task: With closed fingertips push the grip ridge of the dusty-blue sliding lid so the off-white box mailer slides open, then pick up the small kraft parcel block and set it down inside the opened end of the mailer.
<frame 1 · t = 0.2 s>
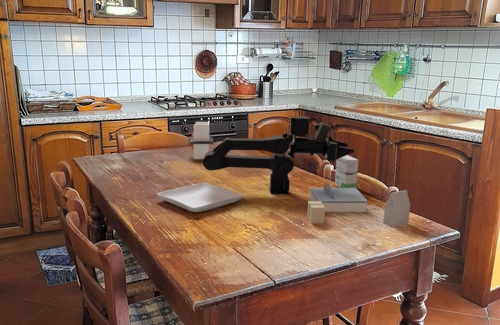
hand: (350, 147, 170), 16 cm above the table, tool horizontal, fingers open, 9 cm apart
lid: (337, 191, 159), point 5 cm above the table, slide at 0.0 cm
salad plate: (199, 203, 160), on the table
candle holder: (201, 158, 224), on the table
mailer: (337, 204, 160), on the table
parcel: (315, 219, 146), on the table
grey tapered upright block: (395, 223, 144), on the table
ink box: (345, 188, 180), on the table
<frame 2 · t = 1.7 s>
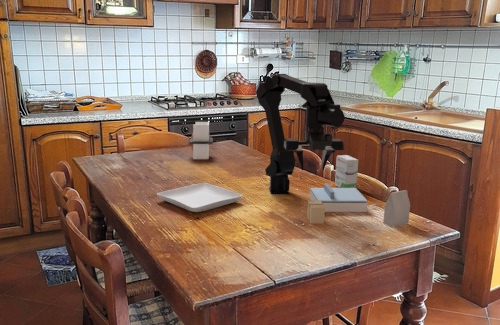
hand: (312, 170, 157), 12 cm above the table, tool pointing down, fingers open, 6 cm apart
nothing on the table moved.
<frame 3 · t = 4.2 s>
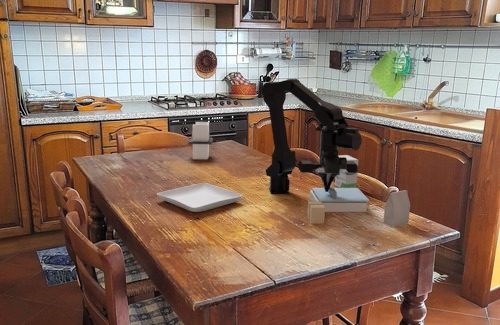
hand: (326, 191, 158), 5 cm above the table, tool pointing down, fingers closed
lid: (340, 191, 159), point 5 cm above the table, slide at 0.7 cm, touching gripper
everything else where it was.
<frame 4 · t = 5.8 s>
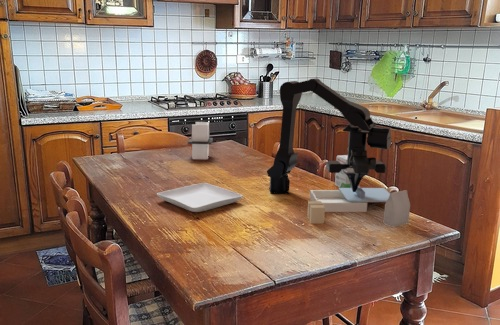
hand: (353, 191, 159), 5 cm above the table, tool pointing down, fingers closed
lid: (367, 191, 159), point 5 cm above the table, slide at 10.0 cm, touching gripper
everything else where it was.
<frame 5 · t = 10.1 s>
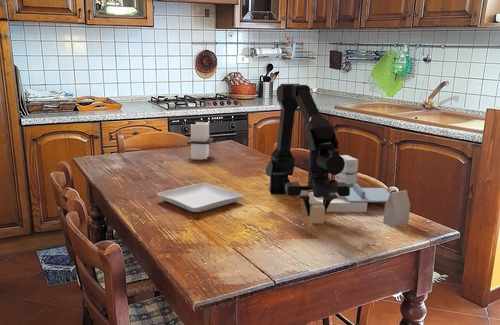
hand: (315, 215, 145), 1 cm above the table, tool pointing down, fingers closed on parcel, 4 cm apart
lid: (367, 191, 159), point 5 cm above the table, slide at 10.1 cm
parcel: (315, 219, 146), on the table, touching gripper
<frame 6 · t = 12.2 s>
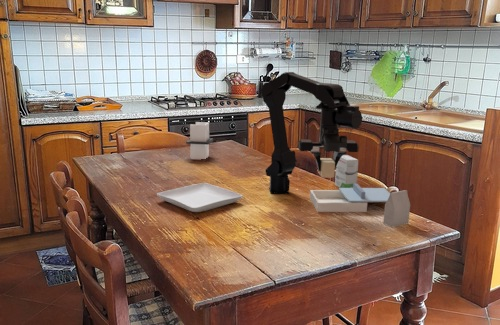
hand: (326, 171, 156), 12 cm above the table, tool pointing down, fingers closed on parcel, 4 cm apart
parcel: (326, 175, 156), point 11 cm above the table, touching gripper
when the fingers open (4 cm above the table, at t = 14.1 s): parcel drops 3 cm, resting on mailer.
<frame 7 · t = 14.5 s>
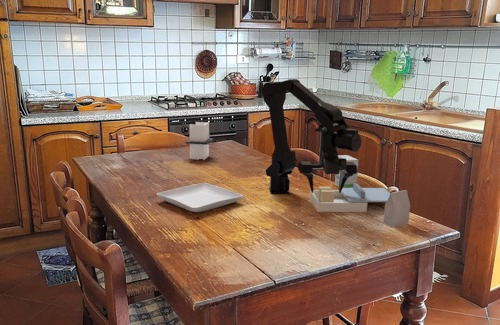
hand: (325, 192, 159), 4 cm above the table, tool pointing down, fingers open, 9 cm apart
parcel: (325, 203, 160), resting on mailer
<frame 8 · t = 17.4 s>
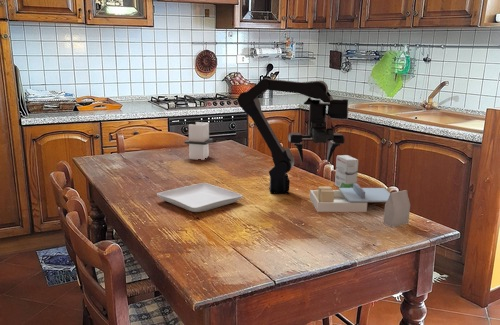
hand: (315, 162, 167), 12 cm above the table, tool pointing down, fingers open, 9 cm apart
at the end: lid slide at 10.1 cm; parcel inside the target area on the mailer (1.5 cm from its centre), point 0.5 cm above the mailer's base; the gripper is holding nothing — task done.
